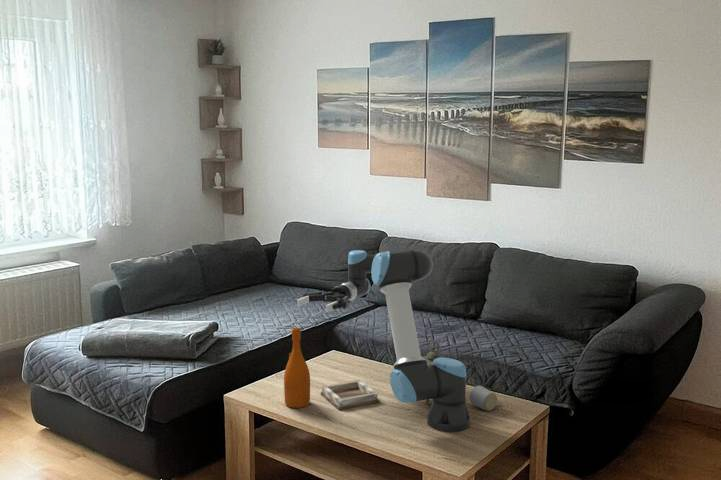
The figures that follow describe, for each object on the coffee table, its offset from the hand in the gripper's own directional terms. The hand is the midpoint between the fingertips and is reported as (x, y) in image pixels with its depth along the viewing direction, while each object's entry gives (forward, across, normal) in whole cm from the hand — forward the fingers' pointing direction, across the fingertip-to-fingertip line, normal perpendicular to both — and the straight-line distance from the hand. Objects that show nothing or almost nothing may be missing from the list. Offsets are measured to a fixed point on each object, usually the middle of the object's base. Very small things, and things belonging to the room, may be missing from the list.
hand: (312, 305), depth 290 cm
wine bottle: (+10, 0, -36) cm, 38 cm away
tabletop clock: (-19, -42, -36) cm, 59 cm away
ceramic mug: (-27, -61, -36) cm, 76 cm away
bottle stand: (-6, -14, -36) cm, 39 cm away
